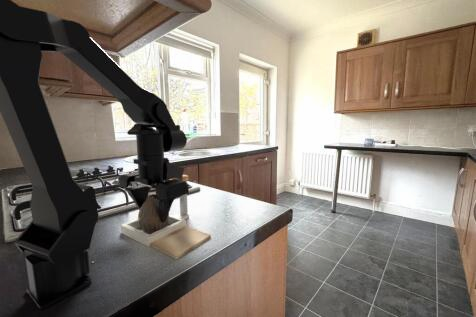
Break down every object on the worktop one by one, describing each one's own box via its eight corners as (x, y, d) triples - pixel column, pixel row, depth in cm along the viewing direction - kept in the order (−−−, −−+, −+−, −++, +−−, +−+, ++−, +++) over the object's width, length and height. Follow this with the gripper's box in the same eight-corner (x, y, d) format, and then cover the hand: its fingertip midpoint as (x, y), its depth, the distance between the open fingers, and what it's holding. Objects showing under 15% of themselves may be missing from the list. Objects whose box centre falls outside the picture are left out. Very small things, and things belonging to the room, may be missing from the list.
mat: (176, 259, 41) (176, 256, 41) (144, 243, 47) (144, 241, 47) (210, 237, 50) (210, 234, 50) (180, 226, 55) (180, 223, 55)
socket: (148, 246, 45) (146, 200, 44) (121, 232, 51) (118, 191, 50) (200, 220, 59) (199, 183, 57) (173, 211, 64) (172, 177, 63)
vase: (169, 234, 51) (168, 198, 49) (137, 239, 48) (134, 201, 47) (169, 222, 57) (168, 190, 56) (140, 225, 55) (138, 192, 54)
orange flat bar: (139, 176, 63) (138, 172, 63) (146, 174, 66) (146, 170, 66) (184, 182, 57) (183, 177, 57) (190, 180, 60) (190, 175, 60)
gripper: (204, 154, 52) (205, 216, 54) (155, 148, 62) (157, 201, 64) (166, 159, 42) (169, 234, 45) (115, 152, 52) (120, 213, 55)
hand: (154, 218), depth 52 cm, fingers closed on vase, 7 cm apart
